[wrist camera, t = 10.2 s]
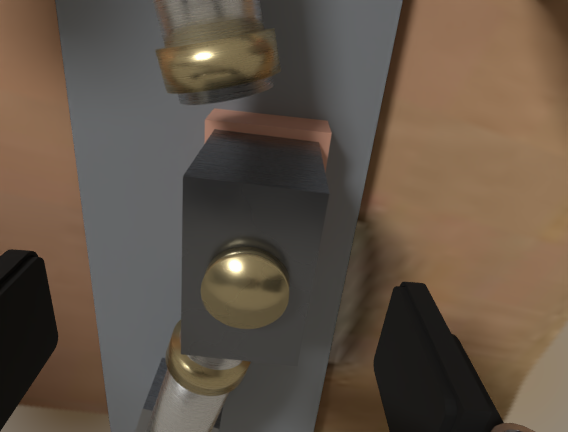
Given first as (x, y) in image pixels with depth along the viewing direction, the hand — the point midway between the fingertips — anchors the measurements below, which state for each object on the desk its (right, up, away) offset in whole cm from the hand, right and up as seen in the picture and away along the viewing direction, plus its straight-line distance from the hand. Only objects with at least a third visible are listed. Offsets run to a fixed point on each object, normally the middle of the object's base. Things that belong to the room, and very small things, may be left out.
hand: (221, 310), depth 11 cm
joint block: (+1, +3, +6) cm, 7 cm away
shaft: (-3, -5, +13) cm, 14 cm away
